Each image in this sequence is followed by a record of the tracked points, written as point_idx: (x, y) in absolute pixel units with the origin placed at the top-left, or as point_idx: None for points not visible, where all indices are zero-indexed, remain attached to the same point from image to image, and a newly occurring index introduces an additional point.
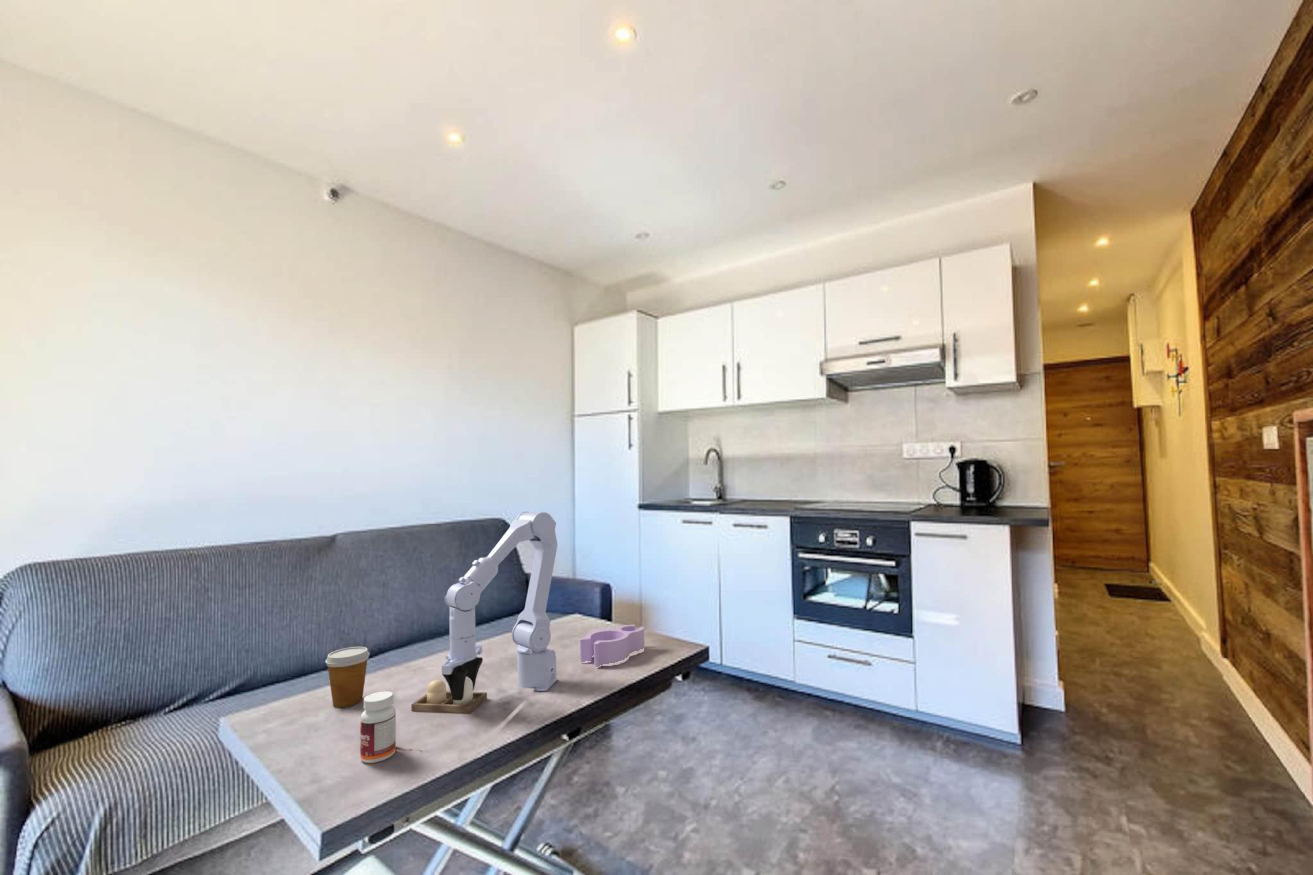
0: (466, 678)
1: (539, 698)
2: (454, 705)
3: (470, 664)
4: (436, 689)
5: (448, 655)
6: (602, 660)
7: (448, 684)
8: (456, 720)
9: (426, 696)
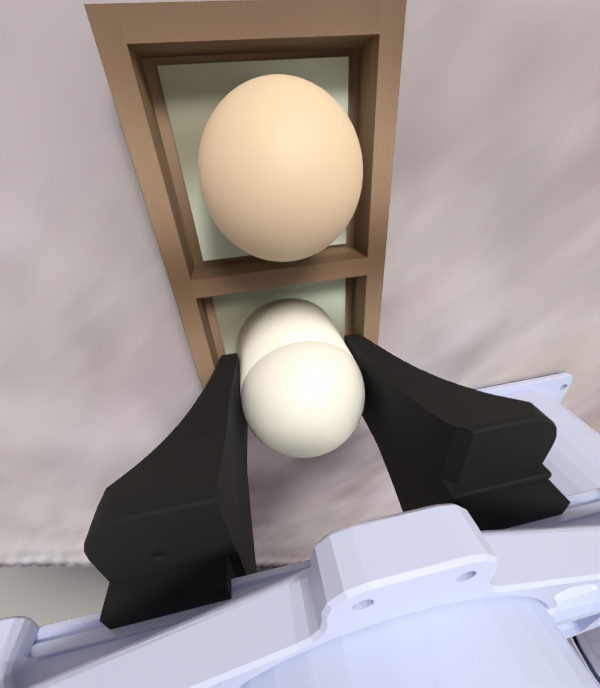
0: (313, 454)
1: (390, 485)
2: (203, 365)
3: (420, 501)
4: (225, 233)
5: (366, 607)
6: None
7: (184, 418)
8: (168, 375)
9: (286, 38)
